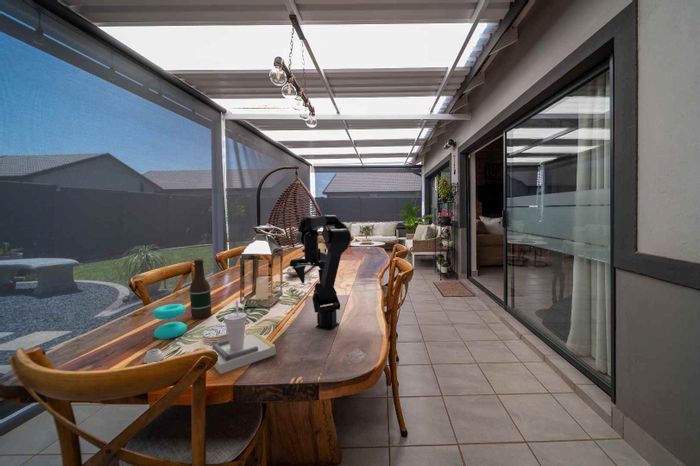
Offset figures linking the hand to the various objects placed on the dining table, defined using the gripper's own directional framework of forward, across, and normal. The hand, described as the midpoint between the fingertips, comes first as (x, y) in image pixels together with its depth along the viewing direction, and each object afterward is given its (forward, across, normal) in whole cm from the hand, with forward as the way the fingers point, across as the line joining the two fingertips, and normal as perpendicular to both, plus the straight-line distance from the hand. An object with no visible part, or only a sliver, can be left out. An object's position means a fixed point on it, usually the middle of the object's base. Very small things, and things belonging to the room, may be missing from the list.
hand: (312, 284), depth 122 cm
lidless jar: (+13, +21, +52) cm, 57 cm away
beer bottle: (+13, +42, +21) cm, 49 cm away
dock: (+13, 0, +39) cm, 41 cm away
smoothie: (+11, 0, +39) cm, 41 cm away
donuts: (+13, +35, +38) cm, 53 cm away
